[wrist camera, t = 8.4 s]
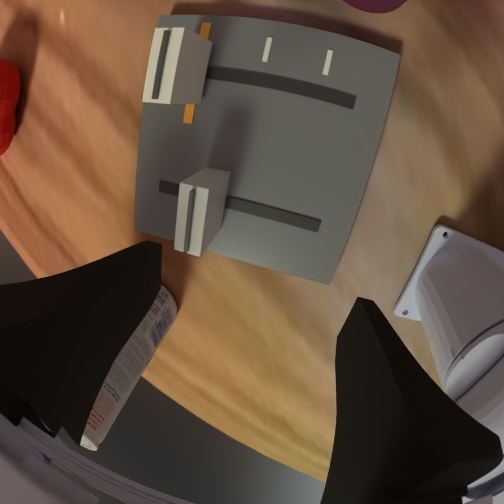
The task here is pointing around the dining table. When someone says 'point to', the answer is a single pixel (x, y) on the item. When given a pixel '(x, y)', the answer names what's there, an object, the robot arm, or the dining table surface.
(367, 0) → the cup
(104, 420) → the beverage can
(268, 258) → the console
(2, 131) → the tomato
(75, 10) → the dining table surface
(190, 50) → the fader tab
